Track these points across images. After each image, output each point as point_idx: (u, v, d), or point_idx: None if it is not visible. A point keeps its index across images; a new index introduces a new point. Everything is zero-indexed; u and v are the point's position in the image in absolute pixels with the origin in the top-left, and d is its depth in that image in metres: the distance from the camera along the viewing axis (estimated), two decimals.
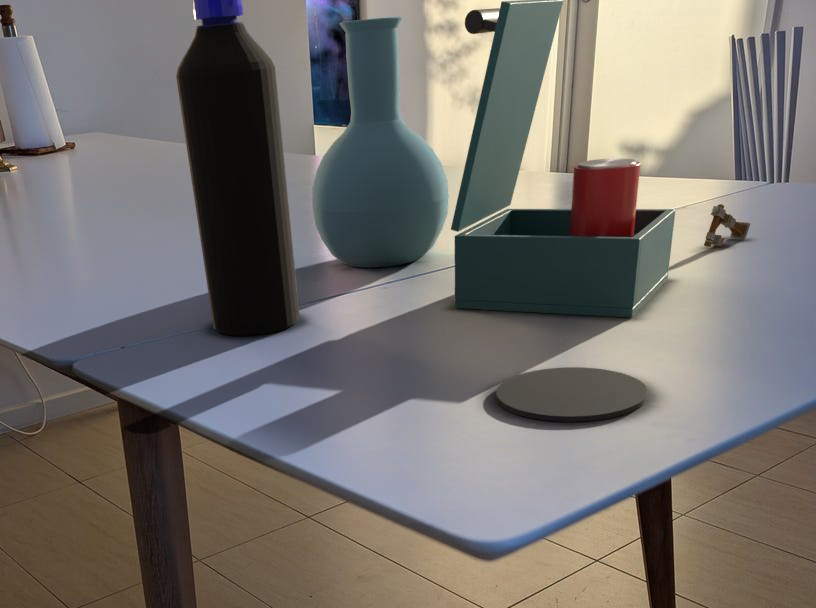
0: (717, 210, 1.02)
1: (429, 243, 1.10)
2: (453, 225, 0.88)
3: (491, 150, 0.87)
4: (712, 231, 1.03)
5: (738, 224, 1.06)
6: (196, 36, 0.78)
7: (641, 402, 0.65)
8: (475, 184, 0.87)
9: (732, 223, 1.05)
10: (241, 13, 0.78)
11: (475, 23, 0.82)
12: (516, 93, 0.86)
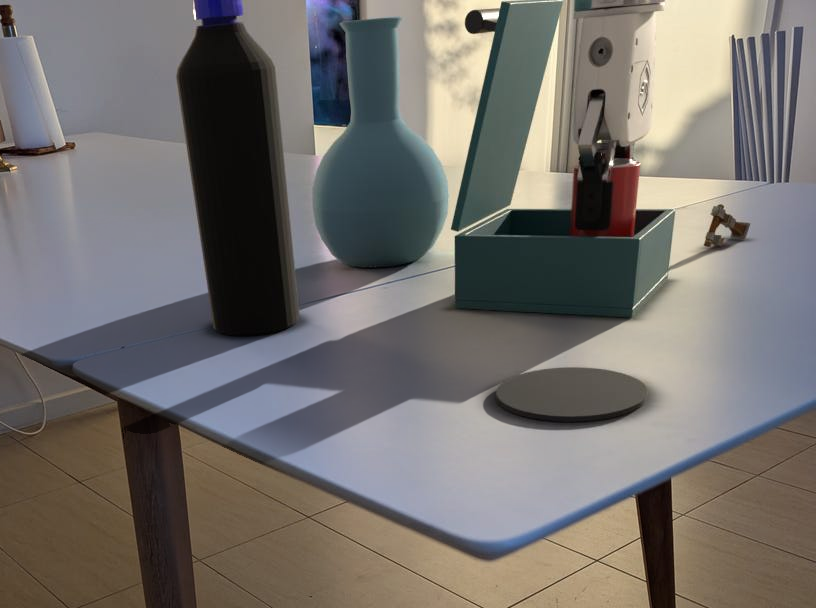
0: (717, 210, 1.02)
1: (429, 243, 1.10)
2: (453, 225, 0.88)
3: (491, 150, 0.87)
4: (712, 231, 1.04)
5: (738, 224, 1.06)
6: (196, 36, 0.78)
7: (641, 402, 0.65)
8: (475, 184, 0.87)
9: (732, 223, 1.05)
10: (241, 13, 0.78)
11: (475, 23, 0.82)
12: (516, 93, 0.86)
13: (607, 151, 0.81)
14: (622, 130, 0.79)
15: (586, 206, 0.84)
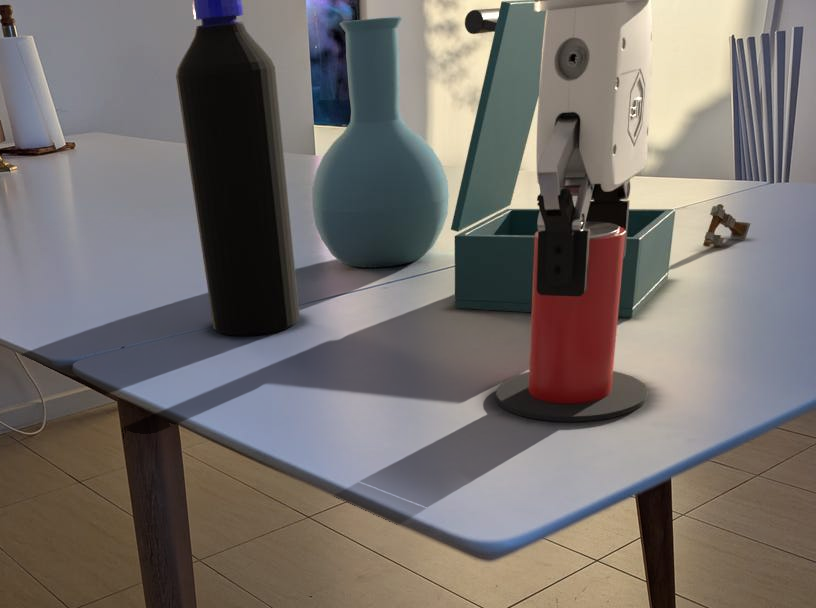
0: (716, 210, 1.02)
1: (429, 243, 1.10)
2: (453, 225, 0.88)
3: (491, 150, 0.87)
4: (711, 231, 1.04)
5: (738, 224, 1.06)
6: (196, 36, 0.78)
7: (641, 402, 0.65)
8: (475, 184, 0.87)
9: (732, 223, 1.05)
10: (241, 13, 0.78)
11: (475, 23, 0.82)
12: (516, 93, 0.86)
13: (582, 187, 0.56)
14: (605, 170, 0.55)
15: (551, 264, 0.59)
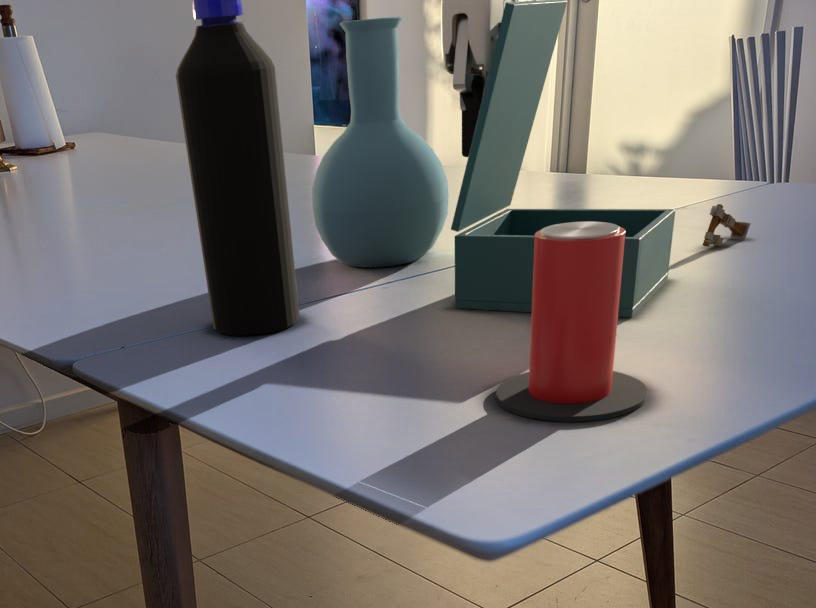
0: (716, 210, 1.03)
1: (429, 243, 1.10)
2: (453, 225, 0.88)
3: (492, 151, 0.87)
4: (711, 231, 1.04)
5: (738, 224, 1.06)
6: (196, 36, 0.78)
7: (641, 402, 0.65)
8: (476, 184, 0.87)
9: (731, 223, 1.05)
10: (241, 13, 0.78)
11: None
12: (518, 94, 0.86)
13: (482, 82, 0.85)
14: (486, 54, 0.81)
15: (470, 133, 0.88)
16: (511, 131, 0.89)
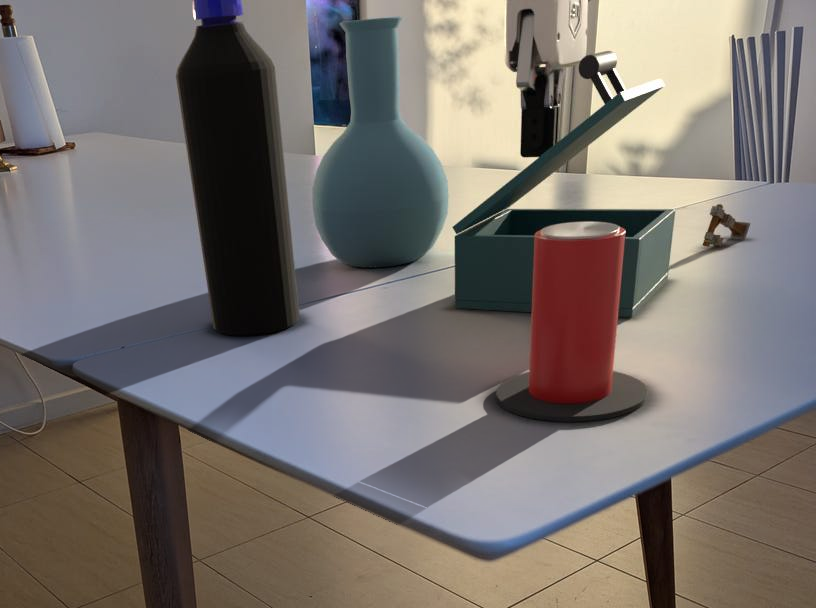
0: (716, 210, 1.03)
1: (429, 243, 1.10)
2: (456, 226, 0.88)
3: (526, 183, 0.87)
4: (711, 231, 1.04)
5: (738, 224, 1.06)
6: (196, 36, 0.78)
7: (641, 402, 0.65)
8: (496, 205, 0.87)
9: (731, 223, 1.05)
10: (241, 13, 0.78)
11: (588, 69, 0.79)
12: (577, 147, 0.86)
13: (545, 80, 0.82)
14: (552, 51, 0.79)
15: (530, 133, 0.86)
16: (551, 168, 0.89)
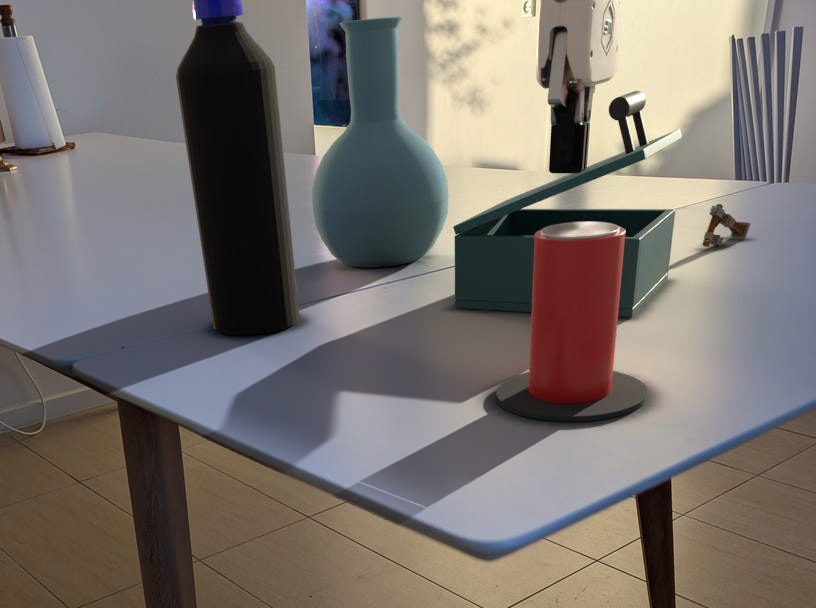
0: (715, 210, 1.03)
1: (429, 243, 1.10)
2: (457, 227, 0.88)
3: None
4: (710, 231, 1.04)
5: (738, 224, 1.06)
6: (196, 36, 0.78)
7: (641, 402, 0.65)
8: None
9: (731, 223, 1.05)
10: (241, 13, 0.78)
11: (618, 111, 0.80)
12: None
13: (576, 96, 0.82)
14: (584, 68, 0.78)
15: (559, 149, 0.85)
16: None
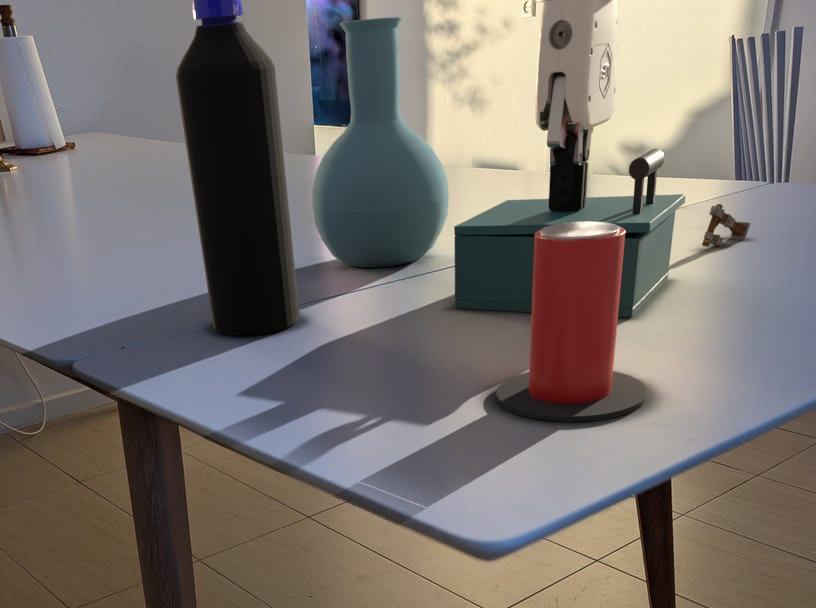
0: (715, 210, 1.03)
1: (429, 243, 1.10)
2: (458, 228, 0.88)
3: None
4: (710, 231, 1.04)
5: (738, 224, 1.06)
6: (196, 36, 0.78)
7: (641, 402, 0.65)
8: None
9: (731, 223, 1.05)
10: (241, 13, 0.78)
11: (637, 171, 0.82)
12: None
13: (575, 138, 0.84)
14: (583, 113, 0.80)
15: (559, 188, 0.87)
16: None
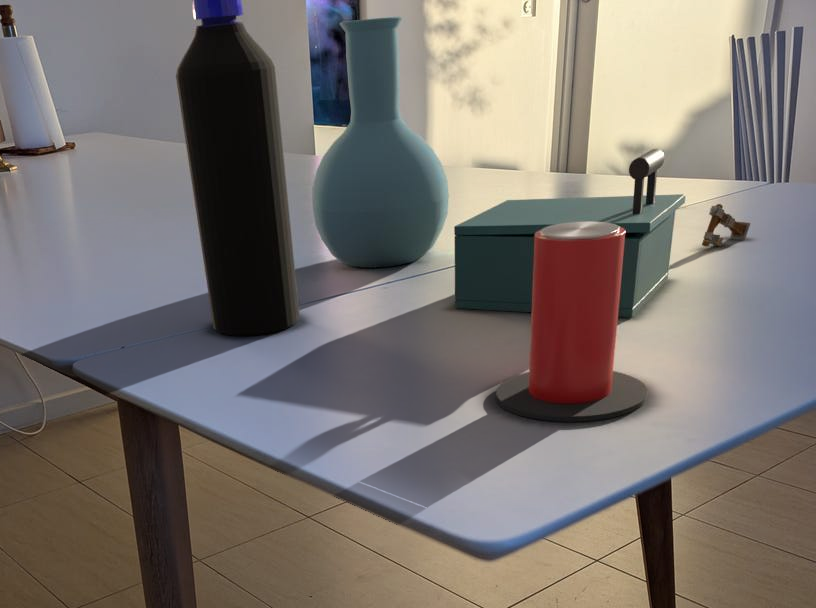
0: (715, 210, 1.03)
1: (429, 243, 1.10)
2: (458, 228, 0.88)
3: None
4: (710, 231, 1.04)
5: (738, 224, 1.07)
6: (196, 36, 0.78)
7: (641, 402, 0.65)
8: None
9: (731, 223, 1.05)
10: (241, 13, 0.78)
11: (637, 171, 0.82)
12: None
13: None
14: None
15: None
16: None
